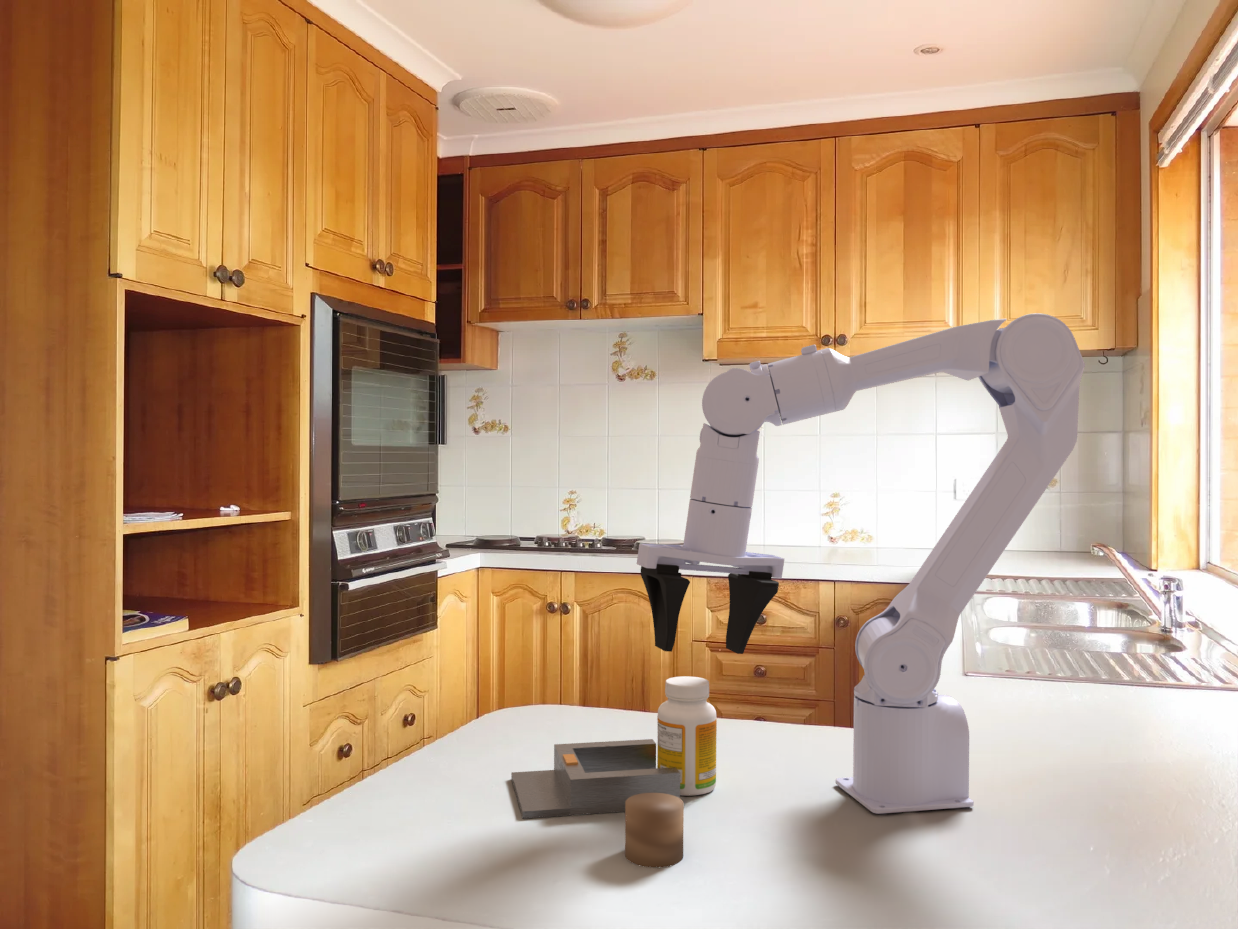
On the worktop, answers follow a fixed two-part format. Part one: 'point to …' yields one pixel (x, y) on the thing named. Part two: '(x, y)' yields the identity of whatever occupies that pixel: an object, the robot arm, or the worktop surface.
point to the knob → (654, 829)
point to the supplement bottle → (688, 734)
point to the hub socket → (593, 779)
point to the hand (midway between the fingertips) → (699, 650)
